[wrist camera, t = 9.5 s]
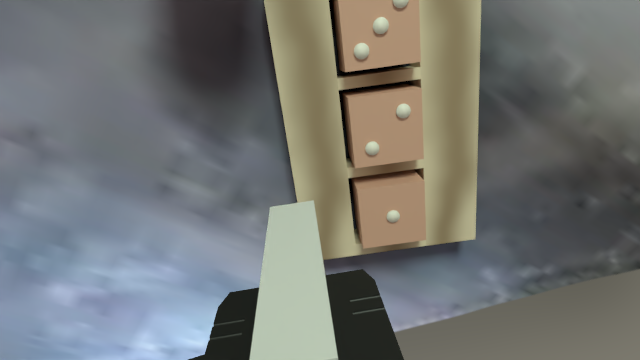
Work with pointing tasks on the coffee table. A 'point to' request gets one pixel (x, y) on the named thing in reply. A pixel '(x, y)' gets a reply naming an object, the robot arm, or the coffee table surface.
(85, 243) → the coffee table surface
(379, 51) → the tile three pips
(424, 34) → the board
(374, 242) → the tile one pip
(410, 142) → the tile two pips
